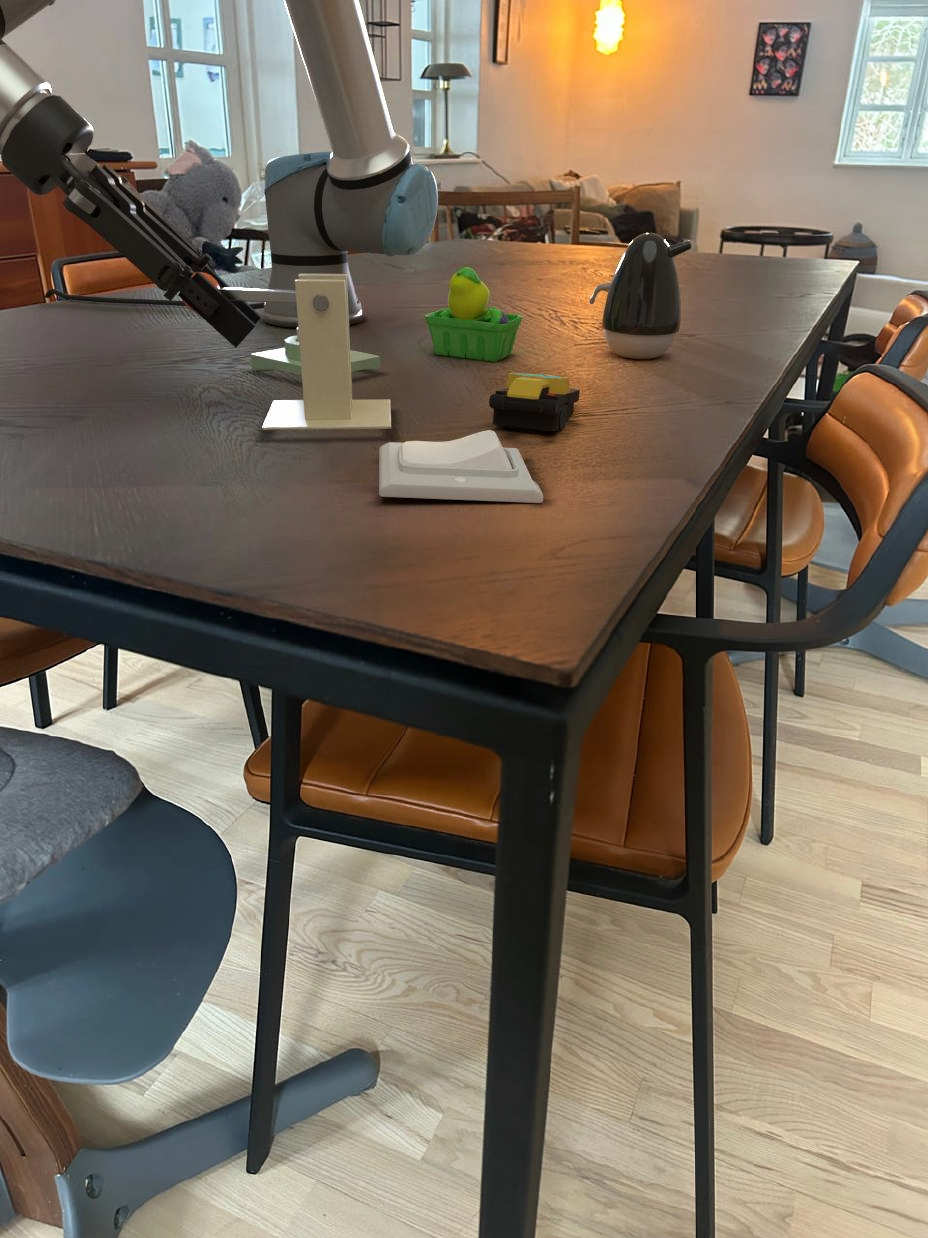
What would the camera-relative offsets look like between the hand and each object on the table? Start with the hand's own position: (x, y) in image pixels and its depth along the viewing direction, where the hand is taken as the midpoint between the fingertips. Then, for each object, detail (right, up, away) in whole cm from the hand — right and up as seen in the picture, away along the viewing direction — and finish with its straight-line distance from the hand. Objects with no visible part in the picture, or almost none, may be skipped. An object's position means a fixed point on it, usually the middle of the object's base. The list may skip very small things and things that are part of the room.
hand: (248, 331), depth 82 cm
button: (+2, +6, +23) cm, 24 cm away
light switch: (+20, -16, -9) cm, 27 cm away
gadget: (+28, -8, +5) cm, 29 cm away
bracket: (+7, -8, +5) cm, 11 cm away
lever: (+1, +1, -1) cm, 2 cm away
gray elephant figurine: (+46, +18, +55) cm, 74 cm away
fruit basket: (+21, +8, +35) cm, 41 cm away
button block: (+2, +3, +24) cm, 25 cm away
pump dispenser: (+44, +9, +36) cm, 58 cm away
